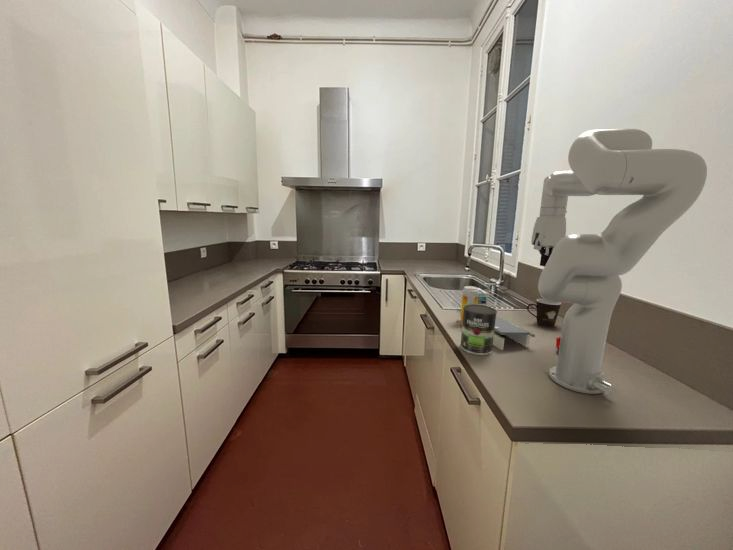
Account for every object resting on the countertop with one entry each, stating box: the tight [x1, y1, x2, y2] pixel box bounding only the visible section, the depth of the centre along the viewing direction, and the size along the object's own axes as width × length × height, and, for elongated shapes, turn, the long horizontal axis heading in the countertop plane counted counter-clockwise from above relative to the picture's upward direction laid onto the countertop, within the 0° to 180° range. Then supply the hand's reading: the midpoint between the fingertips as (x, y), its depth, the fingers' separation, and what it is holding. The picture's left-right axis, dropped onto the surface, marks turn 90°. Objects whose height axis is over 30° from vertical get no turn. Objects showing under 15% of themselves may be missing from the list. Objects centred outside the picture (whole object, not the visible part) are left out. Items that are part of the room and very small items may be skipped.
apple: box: [555, 336, 561, 351], centre depth 97 cm, size 7×7×8 cm
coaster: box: [456, 318, 463, 326], centre depth 124 cm, size 9×9×1 cm
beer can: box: [460, 285, 479, 322], centre depth 122 cm, size 6×6×15 cm
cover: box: [494, 315, 531, 336], centre depth 108 cm, size 20×12×1 cm, turn 13°
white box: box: [493, 332, 536, 351], centre depth 109 cm, size 23×12×5 cm, turn 13°
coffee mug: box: [526, 298, 562, 328], centre depth 123 cm, size 12×9×10 cm
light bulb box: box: [477, 287, 489, 306], centre depth 136 cm, size 11×7×11 cm, turn 179°
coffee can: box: [459, 304, 498, 356], centre depth 98 cm, size 10×10×14 cm
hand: (545, 266), depth 103 cm, fingers closed
